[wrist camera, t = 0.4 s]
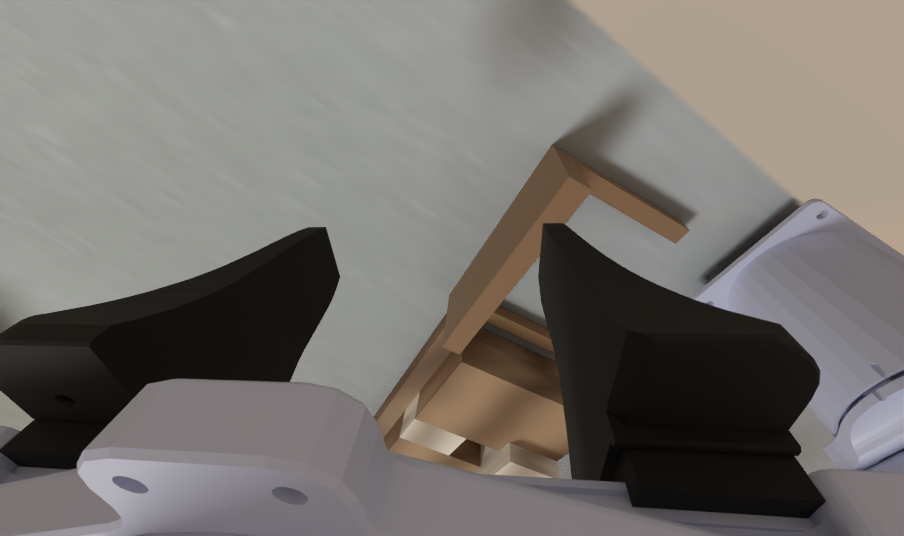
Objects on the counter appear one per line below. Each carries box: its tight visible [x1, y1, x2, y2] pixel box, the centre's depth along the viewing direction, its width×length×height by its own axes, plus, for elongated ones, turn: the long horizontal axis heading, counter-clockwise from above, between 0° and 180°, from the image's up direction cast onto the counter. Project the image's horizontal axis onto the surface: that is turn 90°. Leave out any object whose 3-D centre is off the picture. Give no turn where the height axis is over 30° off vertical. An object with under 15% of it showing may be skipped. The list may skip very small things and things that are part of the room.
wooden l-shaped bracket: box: [442, 145, 689, 354], centre depth 21 cm, size 9×12×5 cm
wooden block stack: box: [374, 314, 569, 479], centre depth 30 cm, size 14×18×6 cm
